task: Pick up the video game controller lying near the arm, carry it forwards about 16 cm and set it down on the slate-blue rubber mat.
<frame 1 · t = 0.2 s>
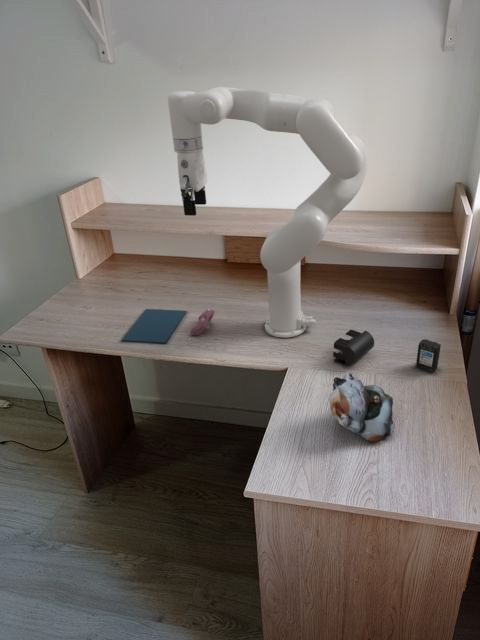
hand: (195, 209, 143), 36 cm above the table, tool pointing down, fingers open, 9 cm apart
lucky cat figurine: (361, 426, 118), on the table
rubber mat: (155, 326, 163), on the table
video game controller: (204, 329, 160), on the table
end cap: (353, 359, 142), on the table
ink cartridge: (426, 369, 136), on the table
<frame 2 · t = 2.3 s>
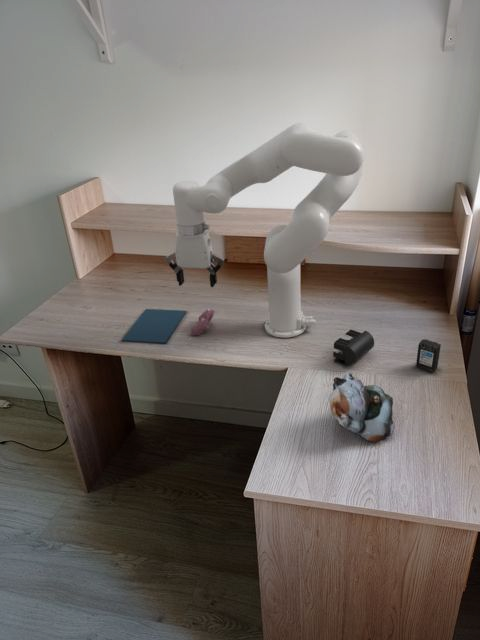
hand: (197, 284, 152), 15 cm above the table, tool pointing down, fingers open, 9 cm apart
nothing on the table moved.
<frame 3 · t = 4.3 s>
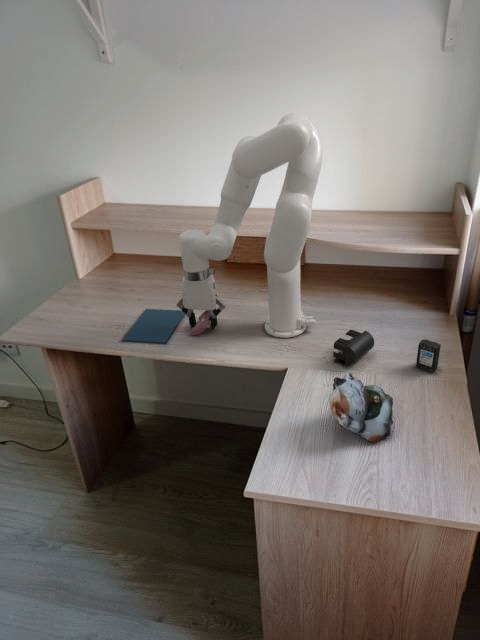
hand: (203, 326, 160), 1 cm above the table, tool pointing down, fingers closed on video game controller, 5 cm apart
video game controller: (204, 329, 160), on the table, touching gripper
everything else where it was.
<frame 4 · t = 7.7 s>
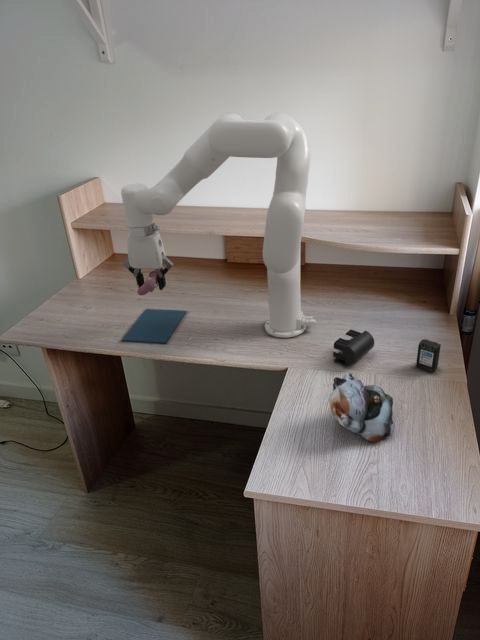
hand: (152, 287, 156), 14 cm above the table, tool pointing down, fingers closed on video game controller, 5 cm apart
video game controller: (152, 290, 156), point 13 cm above the table, touching gripper
everything else where it was.
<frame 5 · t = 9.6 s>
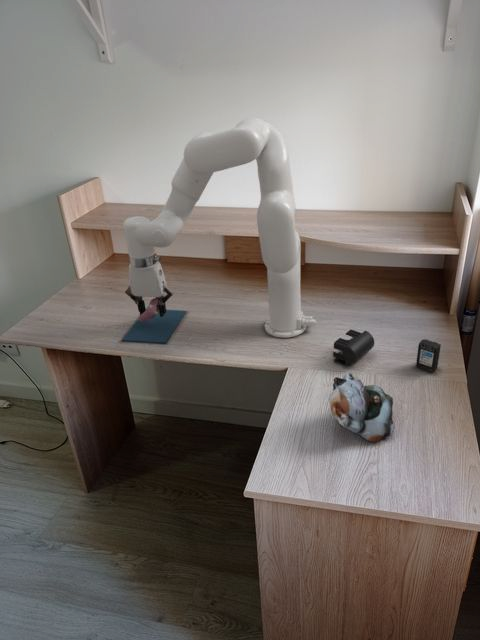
hand: (153, 313, 161), 4 cm above the table, tool pointing down, fingers closed on video game controller, 5 cm apart
video game controller: (153, 316, 161), point 4 cm above the table, touching gripper
everything else where it was.
when the fingers open (1 cm above the table, at t = 11.0 s): video game controller stays where it is, resting on rubber mat.
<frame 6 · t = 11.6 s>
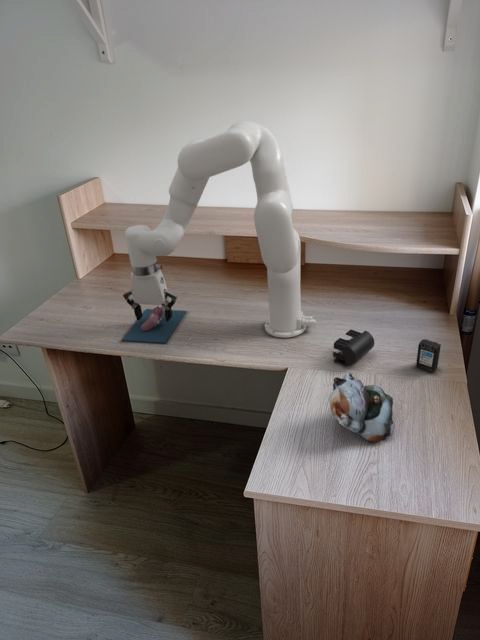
hand: (154, 318, 162), 3 cm above the table, tool pointing down, fingers open, 9 cm apart
video game controller: (155, 325, 163), resting on rubber mat
everything else where it was.
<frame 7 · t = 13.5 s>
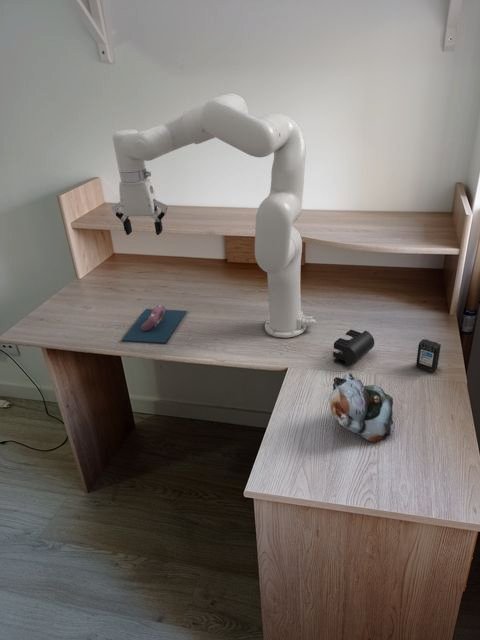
hand: (144, 233, 158), 27 cm above the table, tool pointing down, fingers open, 9 cm apart
nothing on the table moved.
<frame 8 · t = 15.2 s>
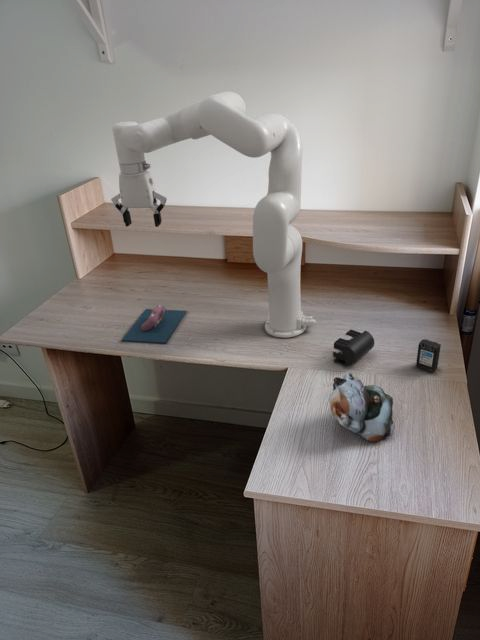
hand: (143, 225, 160), 28 cm above the table, tool pointing down, fingers open, 9 cm apart
nothing on the table moved.
at the end: video game controller inside the target area on the rubber mat (0.1 cm from its centre), point 0.4 cm above the rubber mat's base; video game controller moved 15.9 cm from its start; the gripper is holding nothing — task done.
